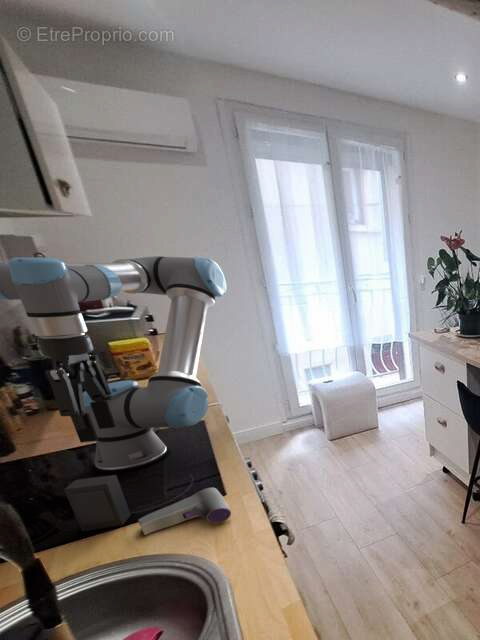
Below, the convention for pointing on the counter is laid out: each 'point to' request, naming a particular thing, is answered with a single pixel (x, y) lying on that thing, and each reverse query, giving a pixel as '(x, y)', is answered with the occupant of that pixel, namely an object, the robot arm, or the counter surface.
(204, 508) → the infrared thermometer
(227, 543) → the counter surface
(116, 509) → the block
